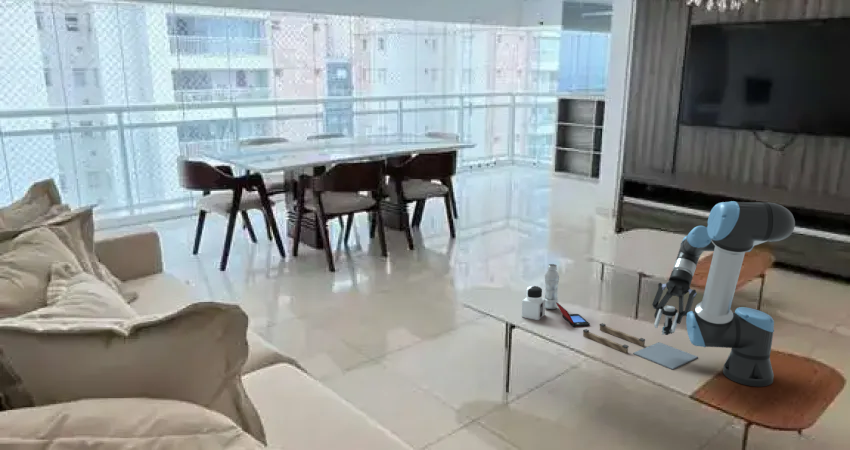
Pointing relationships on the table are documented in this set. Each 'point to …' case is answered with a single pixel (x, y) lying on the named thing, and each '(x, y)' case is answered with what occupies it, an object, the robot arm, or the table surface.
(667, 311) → the push button
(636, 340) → the rails
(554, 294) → the plastic bottle
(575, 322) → the handheld game console
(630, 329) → the table surface
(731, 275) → the robot arm
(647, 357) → the slate mat
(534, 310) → the container
